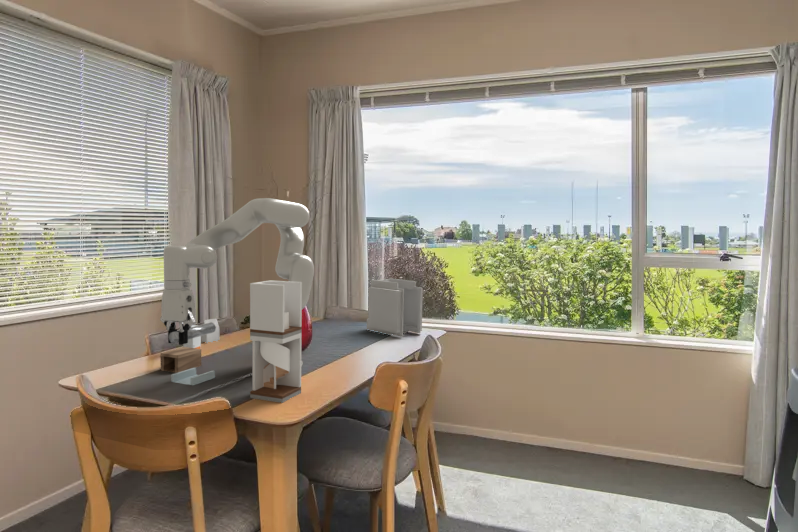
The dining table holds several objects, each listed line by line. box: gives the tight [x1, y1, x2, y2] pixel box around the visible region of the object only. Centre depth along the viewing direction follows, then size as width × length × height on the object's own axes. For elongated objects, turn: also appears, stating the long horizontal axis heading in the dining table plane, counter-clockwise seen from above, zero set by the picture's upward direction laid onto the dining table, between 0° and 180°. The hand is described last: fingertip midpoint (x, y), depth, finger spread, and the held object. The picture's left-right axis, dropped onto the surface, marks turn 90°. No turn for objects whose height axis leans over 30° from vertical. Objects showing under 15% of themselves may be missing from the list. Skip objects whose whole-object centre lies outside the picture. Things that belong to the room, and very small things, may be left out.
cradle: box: [170, 367, 216, 386], centre depth 181 cm, size 9×10×4 cm
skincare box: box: [182, 324, 202, 350], centre depth 219 cm, size 6×4×12 cm
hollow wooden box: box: [159, 346, 202, 374], centre depth 196 cm, size 8×11×8 cm
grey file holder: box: [366, 277, 424, 337], centre depth 274 cm, size 17×27×26 cm, turn 44°
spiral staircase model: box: [249, 280, 303, 404], centre depth 170 cm, size 11×11×35 cm
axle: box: [169, 322, 216, 344], centre depth 180 cm, size 17×4×4 cm, turn 157°
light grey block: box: [201, 318, 221, 344], centre depth 247 cm, size 4×7×10 cm, turn 146°
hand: (178, 342), depth 175 cm, fingers closed on axle, 3 cm apart
